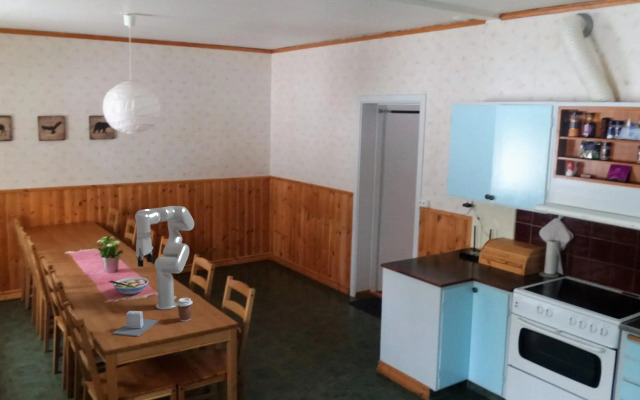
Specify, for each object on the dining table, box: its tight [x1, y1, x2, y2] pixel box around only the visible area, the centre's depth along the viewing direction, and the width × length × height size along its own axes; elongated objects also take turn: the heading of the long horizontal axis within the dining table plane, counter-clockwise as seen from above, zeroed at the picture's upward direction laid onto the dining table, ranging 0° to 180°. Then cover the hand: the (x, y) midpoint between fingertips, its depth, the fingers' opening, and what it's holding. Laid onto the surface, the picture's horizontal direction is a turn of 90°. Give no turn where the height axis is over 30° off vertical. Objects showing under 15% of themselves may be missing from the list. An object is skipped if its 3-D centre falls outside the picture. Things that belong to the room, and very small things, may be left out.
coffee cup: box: [176, 297, 193, 322], centre depth 330 cm, size 9×9×12 cm
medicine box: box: [125, 310, 144, 328], centre depth 317 cm, size 8×4×9 cm, turn 87°
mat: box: [112, 318, 159, 337], centre depth 318 cm, size 22×15×1 cm
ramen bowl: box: [108, 276, 150, 296], centre depth 377 cm, size 25×23×8 cm
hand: (145, 264), depth 326 cm, fingers open, 9 cm apart
